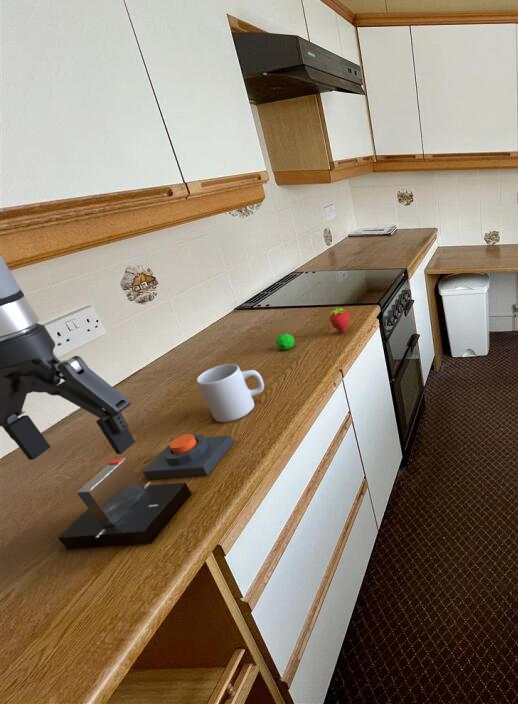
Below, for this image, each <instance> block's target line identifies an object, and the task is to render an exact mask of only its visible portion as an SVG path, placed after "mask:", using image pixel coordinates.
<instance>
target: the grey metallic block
mask: <svg viewBox="0 0 518 704" xmlns="http://www.w3.org/2000/svg"><path fill="white" fill-rule="evenodd" d="M143 486H144V485H143V484H142V482H141V481H140V479H139V478H138V476H137V474H136V473H135V471H134V470H133V468H132V467H131V466H130V464H129V462H128V461H127V459H126V458H123V457H122V458H121V457H120V458H113V459H111V460H110V461H109V462H108V463H107V465H105V466H104V467H103V468H102V469H101V470H100V471H98V472H97V474H95V475H94V476H93V477H92V478H91V479H89V481H87V482H86V483H85V484H84V485H83V486H82V487H81V488H79V489H78V490H77V491H76V494H77V496H78V497H79V498H80V500H81V501H82V502H83V503H84V505H85V506H86V508H87V509H89V510H90V511H91V513H92V514H93V515H94V516H95V518H96V519H97V520H98V522H99V523H100V524H101V526H114V525H115V524H116V523H117V522H118V521H119V520H120V519H121V517H122V516H123V515H124V514H125V513H126V512H127V511H128V510H129V509H130V508H131V507H132V506H133V505H134V504H135V503H136V502H137V501H138V500H139V499H140V498H141V496H142V495H143V494H144V493H145V492H146V490H145V488H144V487H143Z"/></svg>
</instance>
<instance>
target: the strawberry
mask: <svg viewBox="0 0 518 704" xmlns="http://www.w3.org/2000/svg"><path fill="white" fill-rule="evenodd" d="M343 308H344V307H341V308H338V307H336V309H332V310H331V311H329V313H331V314H330V316H329V321H330V323H331V325H332V326H333V328H335V329H336V330H337V331H339V332H340V333H341V334H344V333H346V331H347V328H348V326H349V324H350V313H349V312H348V311H347V309H343Z"/></svg>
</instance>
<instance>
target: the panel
mask: <svg viewBox="0 0 518 704" xmlns="http://www.w3.org/2000/svg"><path fill="white" fill-rule="evenodd" d="M143 487H144V488H145V490H146V492H145V493H144V494H143V495H142V496H141V498H140V499H139V500H138V501H137V502H136V503H135V504H134V505H133V506H132V507H131V508H130V509H129V510H128V511H127V512H126V513H125V514H124V515H123V516H122V517H121V519H120V520H119V521H118V522H117V523H116V524H115V525H114V526H101V524H100V523H99V522H98V520H97V519H96V518H95V516H94V515H93V514H92V513H91V511H90V510H89V509H88V508H87V509H86V510H84V512H83V513H82V514H81V515H80V516H79V517H77V519H76V520H74V521H73V522H72V523H71V524H70V525H69V526H68V527H67V528H66V529H65V530H64V531H63V532H62V533H61V534H60V535H58V537H57V540H58V541H59V542H60V543H61V545H63V547H64V548H65V549H66V550H67V551H69V550H70V551H71V550H84V549H95V548H96V549H97V548H108V547H109V548H110V547H123V546H124V547H125V546H137V545H147V544H152V543H153V542H154V541H155V540H156V539H157V537H158V536H159V535H160V533H162V531H163V530H164V529H165V528H166V526H167V525H168V524H169V523H170V522H171V520H172V519H173V518H174V517H175V515H176V514H177V513H178V512H179V511H180V509H181V508H182V507H183V505H184V504H185V503H186V502H187V501H188V500H189V498H190V497H191V496H192V495H193V493H192V491H191V490H190V488H189V486H188V484H187V483H186V482H176V483H175V482H174V483H162V484H152V482H151V481H148V482H147V483H146V484H145V485H143Z"/></svg>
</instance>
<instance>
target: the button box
mask: <svg viewBox="0 0 518 704" xmlns="http://www.w3.org/2000/svg"><path fill="white" fill-rule="evenodd" d="M192 435H193V436H194V438H195V439H196V441H197V444H196V445H195V446H194V447H193V448H192V449H190V450H189V451H187V452H184V453H181V454H174V453H173V451H172V450H171V448H170V444H169V445H167V446H166V447H165V448H164V450H162V452H160V453H159V454H158V456H156V457H155V458H154V459H153V460H152V461H151V462H150V463H149V464H148V465H147V466H146V467H145V468H144V469H143V470H142V474H143V476H144V477H145V479H146V480H147V481H148V480H161V479H175V478H185V477H187V478H188V477H200V476H208V475H209V474H210V473H211V471H213V469H214V468H215V467H216V465H217V464H218V463H219V462H220V460H221V459H222V458H223V456H225V455H226V454H227V452H228V451H229V450H230V448H231V447H232V446H233V445H234V441H233V438H232V436H231V435H219V436H218V435H217V436H204V435H203V434H201V433H197V434H195V433H193V434H192Z"/></svg>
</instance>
